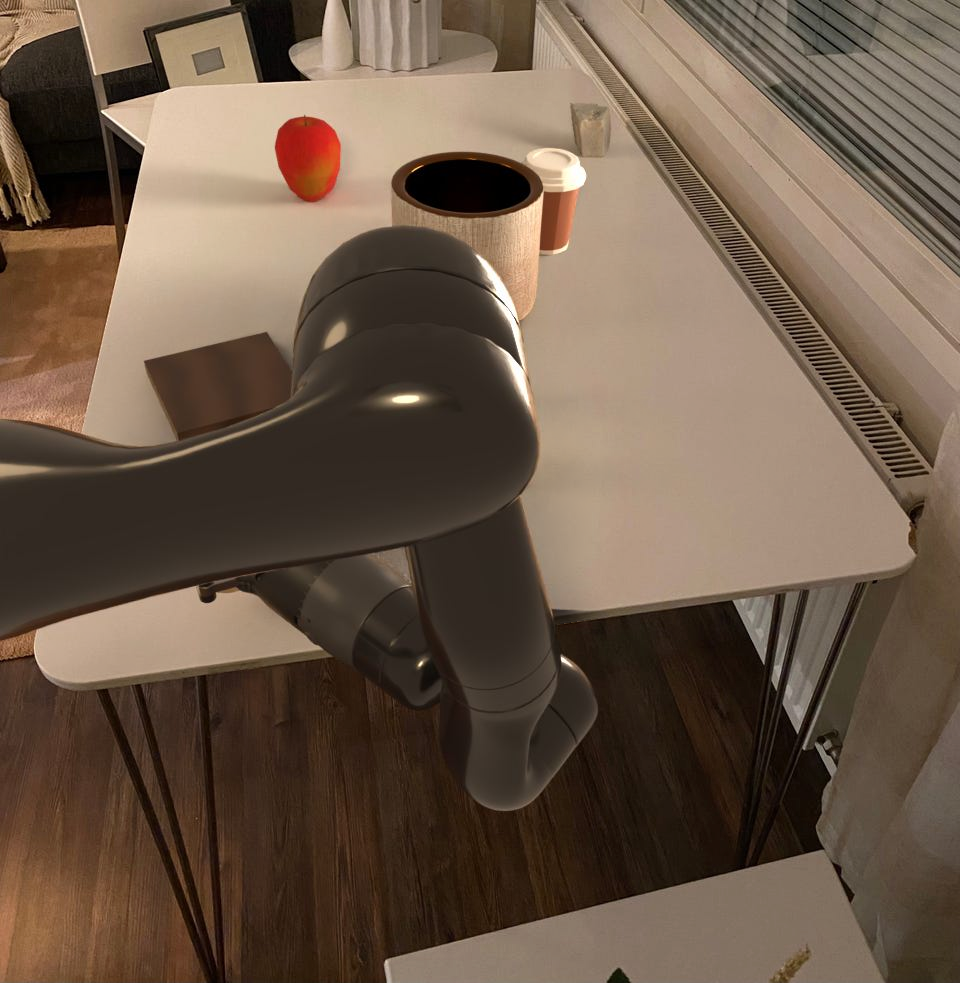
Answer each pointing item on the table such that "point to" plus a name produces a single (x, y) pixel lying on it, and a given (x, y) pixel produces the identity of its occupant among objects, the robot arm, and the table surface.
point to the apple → (308, 156)
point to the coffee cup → (556, 195)
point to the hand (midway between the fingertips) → (192, 487)
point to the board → (220, 384)
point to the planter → (478, 211)
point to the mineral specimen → (591, 128)
